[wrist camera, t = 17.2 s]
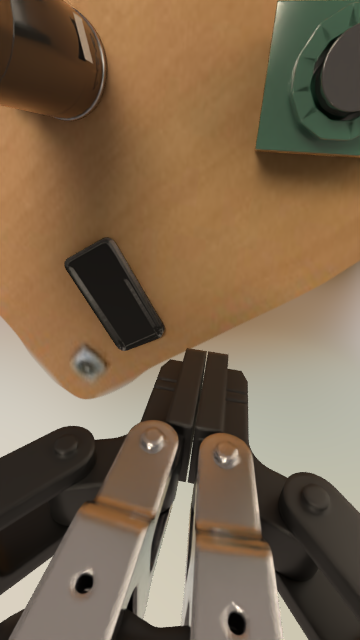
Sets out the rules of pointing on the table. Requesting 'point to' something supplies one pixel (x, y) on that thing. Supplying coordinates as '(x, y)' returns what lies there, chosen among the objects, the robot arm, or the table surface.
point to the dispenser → (305, 81)
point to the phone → (114, 294)
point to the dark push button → (340, 75)
